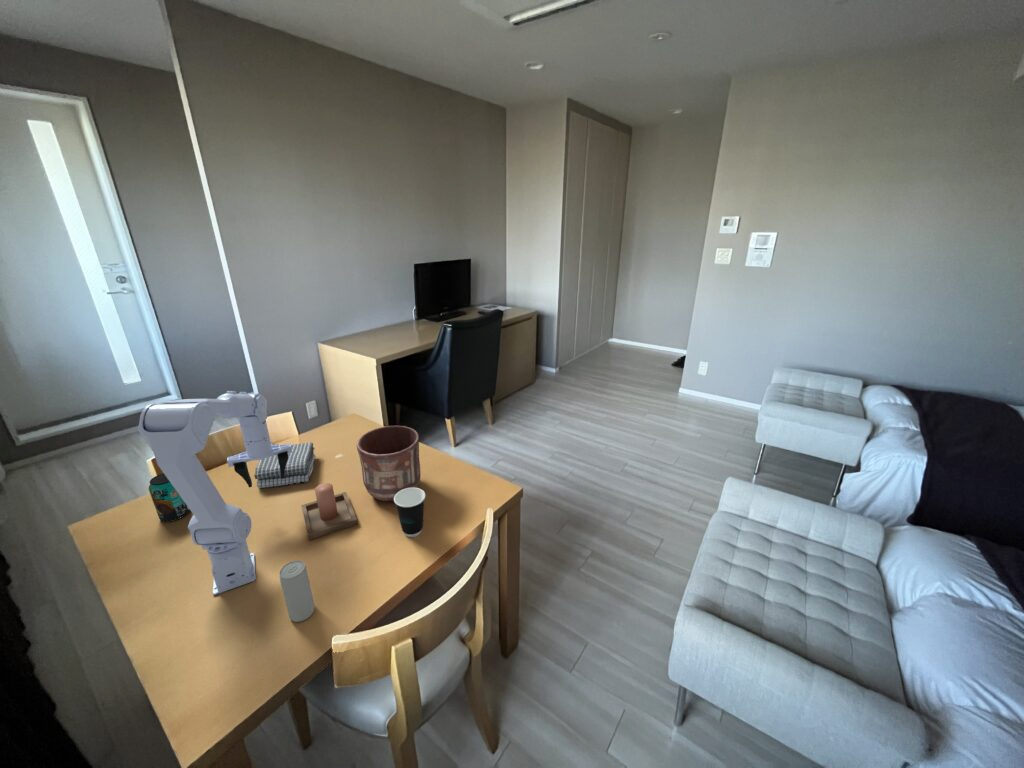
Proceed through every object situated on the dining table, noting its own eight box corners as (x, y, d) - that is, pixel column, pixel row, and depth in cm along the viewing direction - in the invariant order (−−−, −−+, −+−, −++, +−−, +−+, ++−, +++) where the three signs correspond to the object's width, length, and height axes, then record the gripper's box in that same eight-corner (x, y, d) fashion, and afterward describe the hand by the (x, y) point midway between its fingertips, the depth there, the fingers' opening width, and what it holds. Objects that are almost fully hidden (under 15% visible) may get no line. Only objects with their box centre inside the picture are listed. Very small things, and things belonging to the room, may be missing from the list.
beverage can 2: (284, 615, 84) (273, 571, 80) (307, 599, 88) (297, 556, 84) (297, 627, 82) (287, 582, 77) (320, 610, 86) (310, 566, 81)
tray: (357, 524, 110) (356, 519, 110) (309, 540, 104) (308, 535, 104) (346, 497, 121) (345, 491, 121) (302, 510, 115) (301, 505, 115)
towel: (256, 493, 123) (251, 470, 120) (268, 461, 139) (263, 441, 136) (311, 483, 128) (307, 462, 125) (317, 454, 144) (313, 435, 141)
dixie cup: (422, 517, 113) (420, 484, 109) (431, 534, 107) (429, 500, 103) (394, 526, 110) (390, 492, 106) (402, 545, 103) (398, 510, 99)
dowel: (339, 516, 112) (334, 489, 109) (322, 522, 110) (316, 494, 107) (335, 508, 115) (330, 481, 112) (319, 513, 113) (313, 486, 110)
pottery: (355, 486, 126) (348, 435, 120) (408, 467, 136) (404, 419, 130) (375, 517, 113) (368, 462, 107) (432, 494, 123) (429, 442, 117)
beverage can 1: (154, 517, 111) (140, 480, 107) (183, 503, 117) (171, 468, 113) (168, 526, 108) (154, 488, 104) (196, 511, 114) (185, 475, 110)
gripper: (286, 424, 112) (295, 466, 117) (223, 437, 105) (235, 481, 110) (288, 435, 107) (297, 478, 112) (222, 449, 100) (235, 495, 104)
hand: (267, 481), depth 110 cm, fingers open, 7 cm apart
